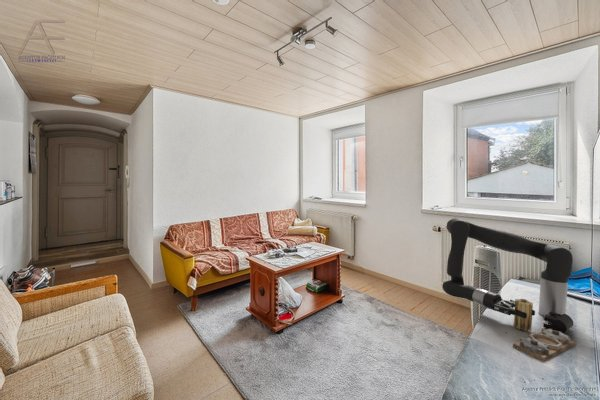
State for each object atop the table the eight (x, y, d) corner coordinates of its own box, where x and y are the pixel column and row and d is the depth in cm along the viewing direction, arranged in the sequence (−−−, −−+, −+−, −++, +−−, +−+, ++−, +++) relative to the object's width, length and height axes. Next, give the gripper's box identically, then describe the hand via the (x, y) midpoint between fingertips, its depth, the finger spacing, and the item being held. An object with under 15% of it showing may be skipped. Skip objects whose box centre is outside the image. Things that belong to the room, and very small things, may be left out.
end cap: (566, 338, 105) (567, 322, 105) (542, 330, 111) (543, 314, 111) (573, 332, 111) (574, 316, 110) (550, 324, 117) (551, 309, 116)
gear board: (545, 332, 109) (546, 323, 109) (575, 344, 101) (576, 334, 101) (513, 346, 98) (513, 337, 98) (543, 361, 90) (544, 350, 90)
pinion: (517, 322, 115) (519, 296, 115) (534, 329, 110) (536, 301, 110) (510, 325, 113) (512, 298, 112) (527, 332, 108) (528, 303, 107)
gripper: (477, 293, 121) (521, 308, 106) (495, 288, 127) (539, 302, 112) (477, 309, 121) (520, 327, 106) (495, 304, 127) (538, 320, 112)
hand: (530, 314), depth 109 cm, fingers closed on pinion, 5 cm apart
